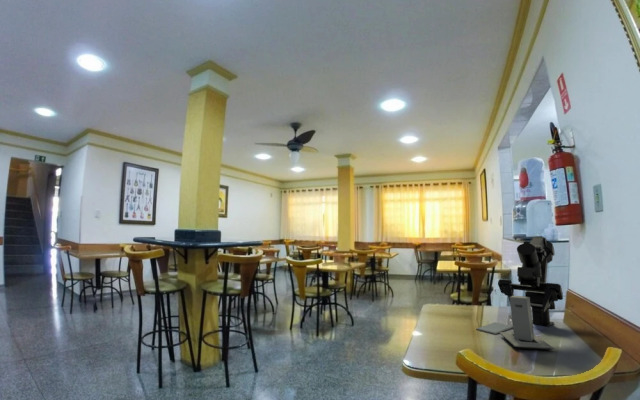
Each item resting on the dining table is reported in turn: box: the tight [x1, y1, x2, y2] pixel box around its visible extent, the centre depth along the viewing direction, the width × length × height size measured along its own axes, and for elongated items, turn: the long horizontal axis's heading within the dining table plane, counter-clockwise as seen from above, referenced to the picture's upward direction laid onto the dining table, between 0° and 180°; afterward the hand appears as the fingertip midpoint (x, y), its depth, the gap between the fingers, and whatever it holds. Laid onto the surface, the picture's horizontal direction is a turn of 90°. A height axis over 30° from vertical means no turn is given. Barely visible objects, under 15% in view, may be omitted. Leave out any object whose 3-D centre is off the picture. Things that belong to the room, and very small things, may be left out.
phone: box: [475, 322, 513, 336], centre depth 116 cm, size 14×7×1 cm, turn 124°
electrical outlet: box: [499, 331, 554, 351], centre depth 100 cm, size 13×10×2 cm
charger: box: [509, 295, 535, 341], centre depth 101 cm, size 4×5×13 cm
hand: (527, 309), depth 106 cm, fingers open, 9 cm apart
